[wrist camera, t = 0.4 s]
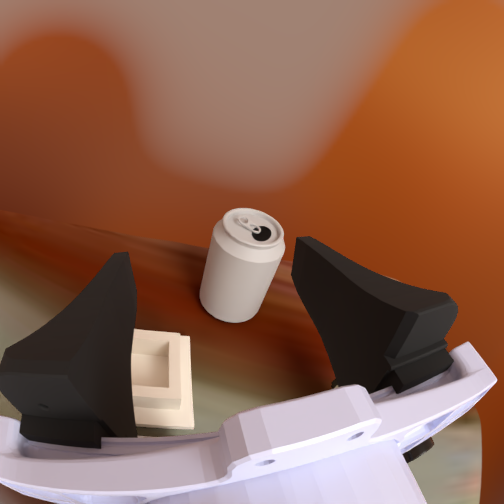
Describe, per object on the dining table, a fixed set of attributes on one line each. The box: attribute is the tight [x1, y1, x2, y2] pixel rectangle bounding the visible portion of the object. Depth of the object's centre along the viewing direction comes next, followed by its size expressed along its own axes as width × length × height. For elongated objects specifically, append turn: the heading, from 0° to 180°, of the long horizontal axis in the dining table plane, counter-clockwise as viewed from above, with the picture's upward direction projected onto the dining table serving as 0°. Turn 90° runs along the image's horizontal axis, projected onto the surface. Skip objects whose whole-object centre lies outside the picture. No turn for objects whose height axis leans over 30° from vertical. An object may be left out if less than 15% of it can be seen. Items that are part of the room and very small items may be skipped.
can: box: [200, 208, 285, 323], centre depth 33 cm, size 8×8×12 cm
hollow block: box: [131, 329, 194, 429], centre depth 23 cm, size 10×14×4 cm
